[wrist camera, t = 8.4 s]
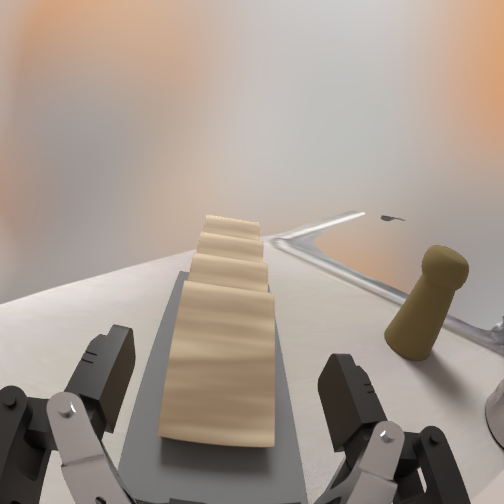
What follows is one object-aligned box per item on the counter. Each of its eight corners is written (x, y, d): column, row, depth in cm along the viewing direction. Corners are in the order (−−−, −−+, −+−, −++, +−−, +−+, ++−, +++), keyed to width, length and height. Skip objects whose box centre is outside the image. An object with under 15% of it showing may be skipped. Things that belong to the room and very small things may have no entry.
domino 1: (258, 298, 24) (259, 223, 31) (190, 289, 24) (206, 214, 30) (254, 308, 26) (256, 234, 32) (190, 299, 25) (205, 226, 32)
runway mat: (306, 509, 9) (308, 508, 9) (114, 494, 8) (113, 492, 8) (267, 287, 31) (268, 284, 31) (179, 274, 30) (179, 271, 30)
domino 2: (261, 338, 20) (263, 241, 27) (181, 327, 19) (201, 231, 26) (256, 346, 21) (259, 253, 28) (181, 336, 20) (200, 244, 27)
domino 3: (267, 385, 16) (267, 263, 22) (170, 374, 15) (193, 252, 22) (260, 392, 17) (262, 277, 24) (172, 381, 16) (193, 266, 23)
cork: (420, 369, 21) (476, 270, 17) (375, 339, 25) (420, 240, 21) (434, 344, 25) (477, 259, 21) (395, 320, 29) (432, 235, 25)
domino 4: (274, 446, 12) (274, 293, 18) (157, 435, 11) (184, 280, 18) (266, 447, 13) (267, 307, 20) (161, 437, 12) (184, 295, 19)
